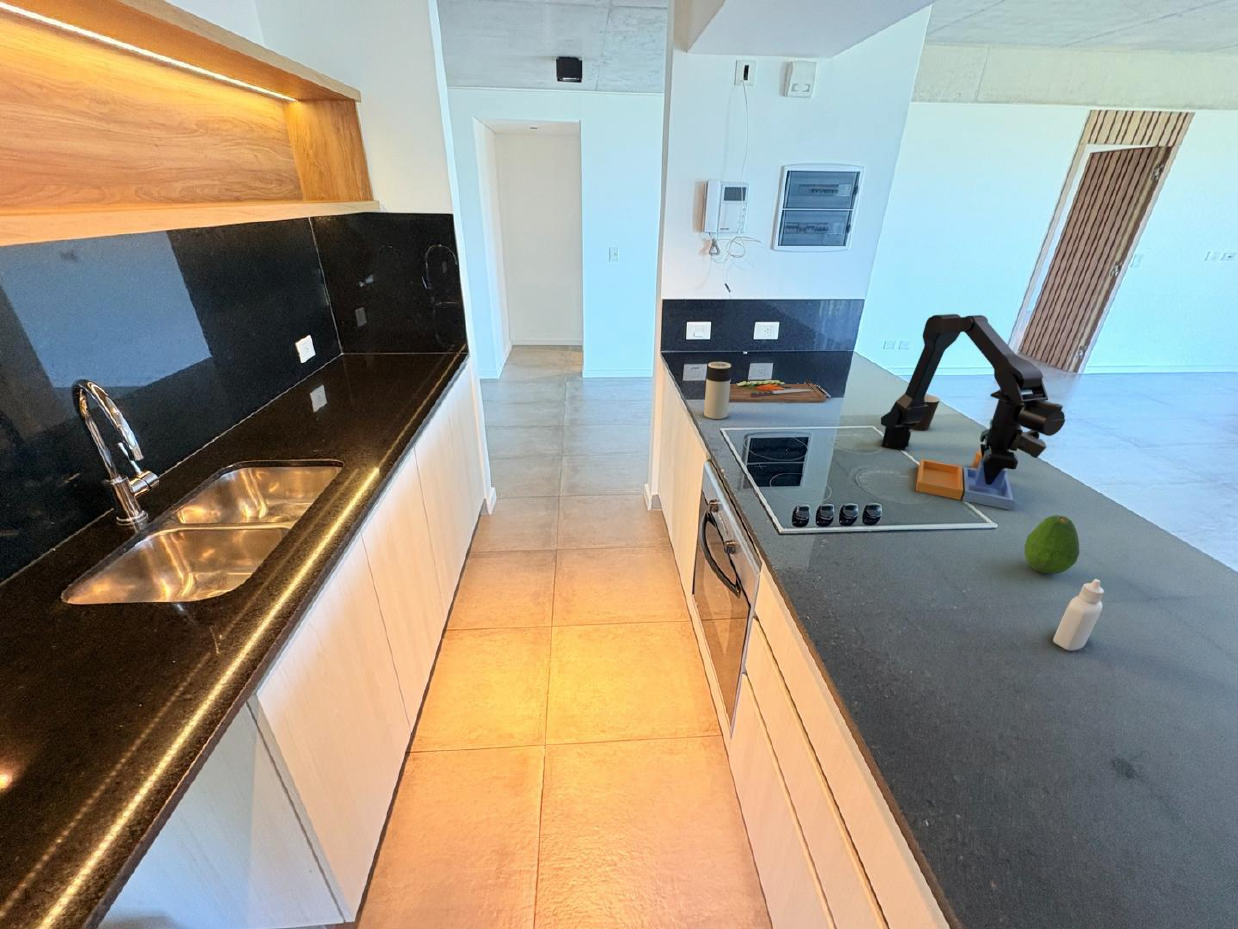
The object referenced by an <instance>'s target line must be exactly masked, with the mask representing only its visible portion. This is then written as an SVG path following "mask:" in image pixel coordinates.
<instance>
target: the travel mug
mask: <svg viewBox="0 0 1238 929" xmlns="http://www.w3.org/2000/svg"><path fill="white" fill-rule="evenodd" d="M731 367H732V364H731V363H729V362H724V361H712V362H709V363H708V371H707V373H706V381H705V382H706V383H705V394H704V396H705V397H704V410H703V415H704V417H706V418H709V419H711V420H723V419H726V418H727V417H728V414H729V404H730V402H729V393H730V382H731V379H732V373H731V371H730V370H731Z"/></svg>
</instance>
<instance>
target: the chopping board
mask: <svg viewBox="0 0 1238 929" xmlns="http://www.w3.org/2000/svg"><path fill="white" fill-rule="evenodd" d="M808 384H809V383H808ZM808 384H807V383H806V382H804V384H799V383H797V384H785V383H784V382H780V381H779V380H765V381H750V382H749V381H748V382H746V381H743V382H740V383H736V384H730V393H729V403H795V404H796V403H798V404H799V403H800V404H801V403H803V404H805V403H807V404H810V403H811V404H812V403H813V404H815V403H816V404H818V403H819V404H820V403H825V402H827V397H828V399H830V398H832V396H831V395H830V394H829V393H828V392H827V391H826V390H825V389H823V388H822V387H821V386H820V385H819V384H818V385H819V386H818V385H816V384H813V383H812V382H811V383H810V384H809V385H810V386H809V385H808ZM782 387H791V388H782ZM811 387H812V388H813V389H814V390H813V389H812V388H811ZM820 387H821V388H822V389H821V388H820Z"/></svg>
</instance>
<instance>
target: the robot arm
mask: <svg viewBox="0 0 1238 929" xmlns="http://www.w3.org/2000/svg"><path fill="white" fill-rule="evenodd" d="M961 333H965V334H966V336H967V337H968V338H969V339H970V341H971V342H972V343H973V344H974V346H975V347H976V348H977V349H978V351H980V353H981V354H982V355H983V357H985V359H986V360H987V361H988V363H989V364H990V365H991V367H992V368H993V378H994V380H995V381H996V383H997V385H998V387H999V389H998V390H996V391H995V392H992V393H990V397H991V398H995V399H997V404H996V405H995V406H996V407H995V410H994V413H993V416H992V419H990V421H989V429H984V430H983V431H981V434H980V437H979V442H980V444H979V446H980V450H981V454H982V462H983V469H984V475H985V483H986V484H987V485H991V484H992V483H993V482H994V480H995V479H996V477H997V476H998V475H999V473H1000V472H1001V471H1002V470H1003V469H1004V468H1005V469H1006V470H1013V471H1014V470H1017V467H1018V464H1019V458H1018V456H1017V455H1016V453H1015V452H1017V451H1018V450H1019V451H1020V452H1021V451H1022V452H1024V453H1026V454H1027V455H1029V456H1030V457H1032V458H1034V459H1038V458H1039V457H1040V455H1041V454H1042V453H1043V452H1044V451H1045V450H1046V449H1047V448H1048V447H1047V445H1046V442H1045V441H1044V440H1043V439H1041V438H1040V434H1042V435H1044V436H1048V437H1051V436H1054V435H1056V434H1057V433H1058V432H1059V431H1061V429H1062V428H1063V426H1064V425H1065V423H1066V416H1065V413H1064V411H1063V408H1064V407H1063V405H1062V404H1060V403H1053V402H1049V396H1048V393H1047V390H1046V387H1045V383H1044V380H1043V378H1044V375H1043V372H1042V371H1041V370H1040V368H1038V367H1037V366H1036V365H1034V364H1033V363H1032V362H1031V361H1029V360H1027V359H1024V358H1022V357H1020V356H1019V355H1018V354H1016V353H1015V352H1014V351H1013V350H1012V348H1011V347H1010V346H1009V345H1008V344H1007V343H1006V341H1005V340H1004V339H1003V338H1002V337H1001V336H1000V334H999V333H998V332H997V331H996V329H995V328H993V326H992V325H991V324H990V323H989V319H988V318H987V317H986V316H985V315H982V314H975V315H974V314H973V315H966V316H960V314H958V313H947V314H946V313H945V314H933V315H932V316H929V317H928V318H927V320H926V322H925V324H924V327H923V331H922V340H923V344H924V345H923V349H922V351H921V353H920V355H919V358H918V361H917V363H916V366H915V368H914V371H913V373H912V376H911V377H910V380H909V383H908V385H907V387H906V390H905V392H904V393H903V394H902V395H901V396H900V397H899V398H897V399H896V400H895V402H894V403H893V405H892V407H891V409H890V411H889V412H887V413H886V414H884V415H882V416H881V417H880V425H881V426H883V427H885V428H884V429H885V430H884V432H883V433H884V434H883V437H882V441H881V444H880V446H881V447H884V448H887V449H894V450H899V451H906V448H907V447H908V448H909V443H910V439H911V435H912V431H911V429H910V427H916V426H917V424H918V423H919V422H920V421H921V420H922V419H923V418H925V415H926V412H927V410H928V409H929V406H928V405H926V404H925V400H924V397H925V394H927V392H928V390H929V387H930V385H931V384H932V380H933V378H934V376H935V374H936V371H937V369H938V367H939V365H940V363H941V361H942V358H943V355H944V353H945V352H946V350H947V349H949V347H950V346H951V345H952V344H954V343H955V342H956V341H957V340H958V338H959V336H960V335H961ZM1023 393H1024V394H1023ZM1025 393H1026V394H1025ZM1022 428H1025V429H1028V431H1023V429H1022Z"/></svg>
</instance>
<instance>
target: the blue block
mask: <svg viewBox="0 0 1238 929" xmlns="http://www.w3.org/2000/svg"><path fill="white" fill-rule="evenodd" d="M1006 471H1007V470H1006V468H1004V469H1003V470H1002V471H1001V472H1000V473H999V475H998V476H997V477H996V479H995V480H994V482H993V483H992V484H991V485H987V484H986V483H985V475H984V469H983V462H982V460H980V462H979V465H978V468H977V471H976V474H975V477H974V478H975V485H976V486H981V487H986V488H991V489H997V490H1000V487H1001V484H1002V481H1003V478H1004V475H1005V474H1006V473H1007V472H1006Z"/></svg>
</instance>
